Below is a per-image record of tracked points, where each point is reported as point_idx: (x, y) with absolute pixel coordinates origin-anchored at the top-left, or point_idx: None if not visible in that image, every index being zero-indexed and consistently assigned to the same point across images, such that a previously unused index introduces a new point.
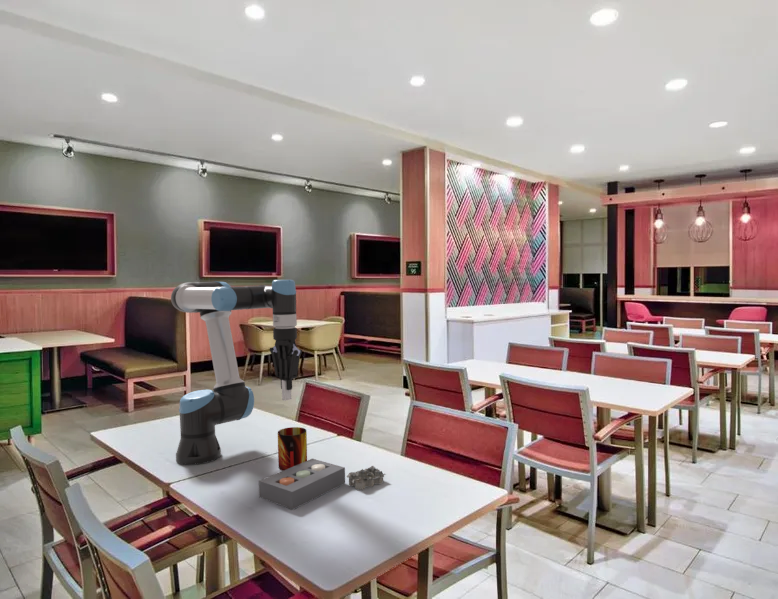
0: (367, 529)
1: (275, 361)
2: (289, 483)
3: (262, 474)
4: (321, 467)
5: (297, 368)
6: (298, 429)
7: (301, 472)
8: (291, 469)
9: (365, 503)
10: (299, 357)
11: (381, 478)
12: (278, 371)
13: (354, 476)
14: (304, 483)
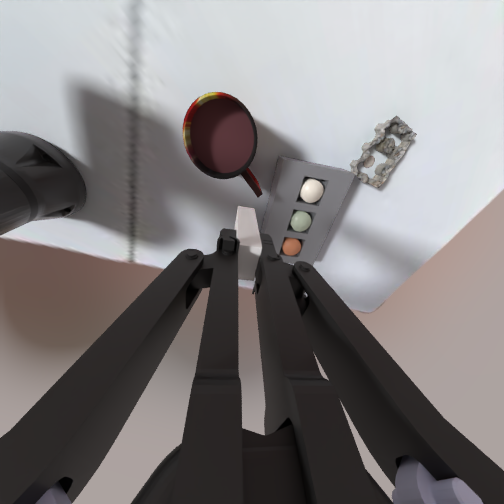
0: (388, 255)
1: (152, 373)
2: (298, 251)
3: (207, 192)
4: (319, 193)
5: (344, 310)
6: (212, 96)
7: (298, 222)
8: (276, 216)
9: (381, 212)
10: (429, 406)
11: (406, 144)
12: (193, 299)
13: (362, 161)
14: (316, 244)
